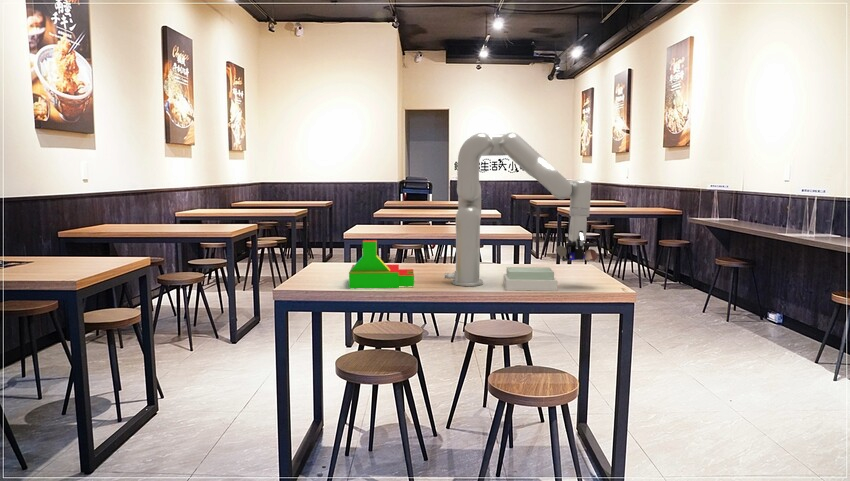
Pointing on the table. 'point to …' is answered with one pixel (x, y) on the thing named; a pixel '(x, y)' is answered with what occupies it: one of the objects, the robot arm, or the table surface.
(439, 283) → the table surface
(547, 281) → the pale green stepped box
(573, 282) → the table surface
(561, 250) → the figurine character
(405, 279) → the building blocks toy
